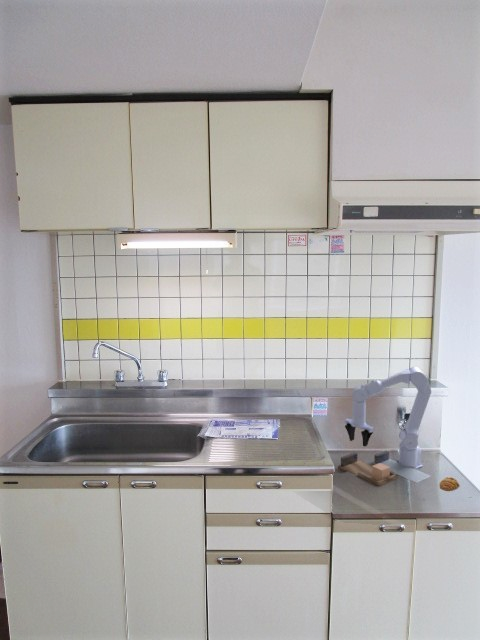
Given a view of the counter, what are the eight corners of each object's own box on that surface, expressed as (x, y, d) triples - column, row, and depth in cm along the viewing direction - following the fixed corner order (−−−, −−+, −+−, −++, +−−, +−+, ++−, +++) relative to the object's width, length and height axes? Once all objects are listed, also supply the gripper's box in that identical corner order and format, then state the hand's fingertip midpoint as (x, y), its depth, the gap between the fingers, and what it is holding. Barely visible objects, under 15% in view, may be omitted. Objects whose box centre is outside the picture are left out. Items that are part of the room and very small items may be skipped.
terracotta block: (379, 474, 180) (379, 462, 180) (389, 478, 176) (390, 467, 176) (371, 477, 178) (372, 465, 177) (381, 482, 174) (382, 470, 173)
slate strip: (386, 460, 197) (387, 449, 196) (431, 479, 178) (431, 467, 178) (372, 466, 191) (372, 455, 190) (416, 486, 173) (417, 474, 172)
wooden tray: (356, 461, 195) (356, 451, 195) (398, 481, 177) (398, 469, 177) (337, 468, 189) (338, 458, 188) (379, 489, 171) (379, 477, 170)
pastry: (453, 497, 165) (453, 488, 164) (434, 491, 169) (435, 482, 169) (460, 488, 171) (461, 479, 171) (443, 483, 176) (443, 474, 176)
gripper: (340, 411, 196) (340, 439, 197) (366, 420, 184) (365, 450, 185) (351, 408, 200) (350, 436, 201) (376, 416, 188) (376, 446, 189)
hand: (358, 443), depth 193 cm, fingers open, 7 cm apart
